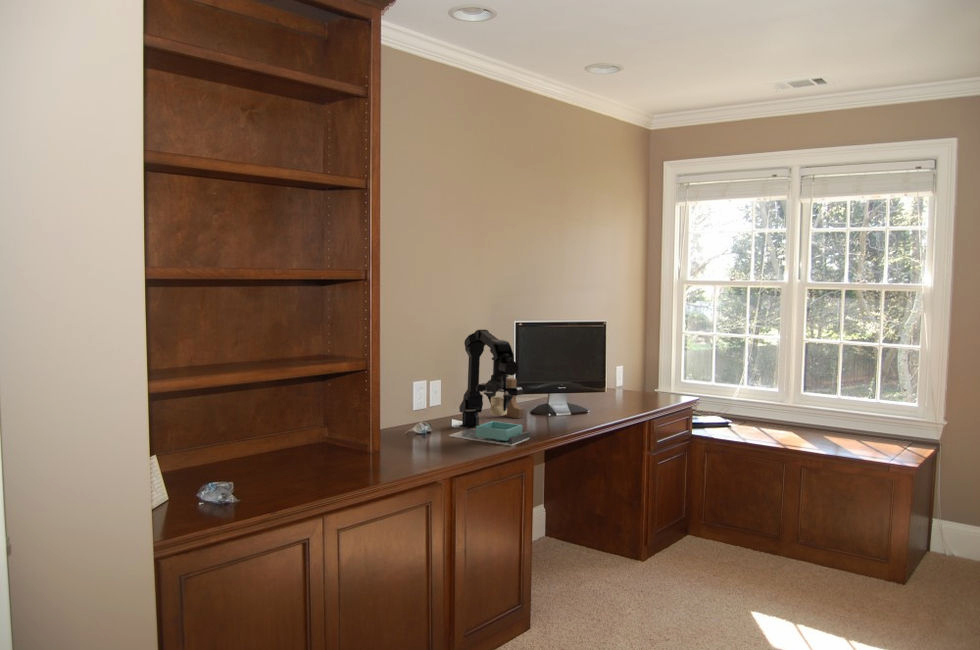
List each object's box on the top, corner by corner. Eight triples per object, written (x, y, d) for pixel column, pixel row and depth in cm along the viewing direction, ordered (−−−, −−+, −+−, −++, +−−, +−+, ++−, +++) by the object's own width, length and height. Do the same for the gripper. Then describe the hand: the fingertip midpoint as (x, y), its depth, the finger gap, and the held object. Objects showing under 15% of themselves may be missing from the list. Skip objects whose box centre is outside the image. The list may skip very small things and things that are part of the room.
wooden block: (523, 417, 360) (525, 379, 359) (518, 418, 356) (520, 380, 355) (507, 415, 365) (508, 377, 364) (502, 416, 361) (503, 378, 360)
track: (448, 436, 312) (449, 429, 312) (468, 430, 326) (468, 423, 326) (511, 445, 298) (511, 438, 298) (529, 438, 312) (529, 431, 312)
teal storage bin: (475, 437, 307) (475, 426, 307) (492, 431, 319) (492, 421, 319) (506, 442, 300) (506, 430, 300) (522, 436, 312) (522, 425, 312)
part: (490, 414, 308) (490, 397, 308) (496, 412, 313) (496, 395, 312) (501, 415, 306) (501, 398, 306) (506, 413, 310) (507, 396, 310)
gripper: (470, 372, 306) (469, 410, 307) (511, 376, 297) (510, 415, 298) (483, 369, 315) (482, 406, 316) (524, 373, 307) (522, 411, 307)
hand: (498, 410), depth 309 cm, fingers closed on part, 5 cm apart
